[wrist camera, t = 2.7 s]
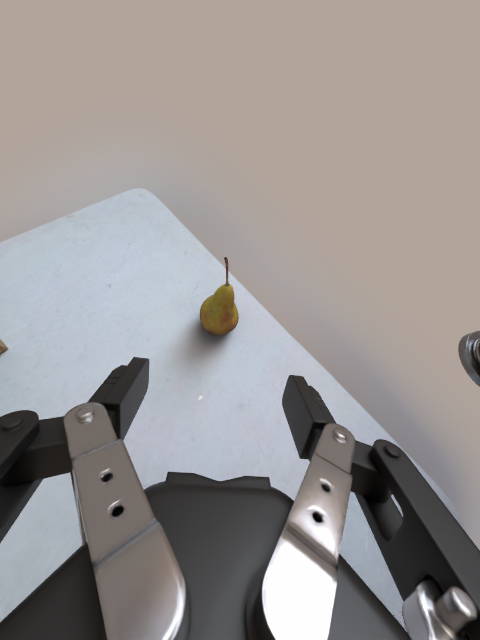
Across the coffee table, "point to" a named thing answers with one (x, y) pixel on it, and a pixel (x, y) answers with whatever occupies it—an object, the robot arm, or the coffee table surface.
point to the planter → (2, 347)
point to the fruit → (220, 310)
